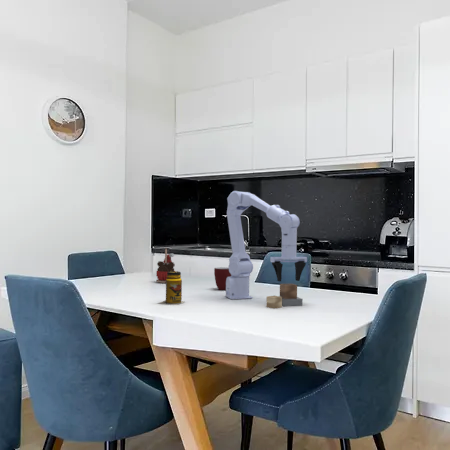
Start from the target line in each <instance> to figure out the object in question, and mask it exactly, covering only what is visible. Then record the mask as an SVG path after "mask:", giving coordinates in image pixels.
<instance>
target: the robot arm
mask: <svg viewBox="0 0 450 450" xmlns="http://www.w3.org/2000/svg"><path fill="white" fill-rule="evenodd" d="M226 200H227V208H226V209H227V210H226V218H227V224H228V225H227V226H228V231H229V238H230V239H229V240H230V245H231V252H232V254H231V256H230V257H229V259H228V260H229V261H228V268H229V272H230V274H231V277H227V279H226V290H225V297H226V298H228V299H230V300H244V299H245V300H246V299H253V298H254V297H253V296H251V295H250V276H251V274H252V272H253V269H254V264H253V262H252V261H251V257H250V255H249V254H248V253H247V251H246V247H245V246H246V245H245V239H244V232H243V226H242V218H241V215H242V214H243V213H244V212H245V211H246V210H248V209H249V207H251V206H253V207H254V208H256V209H258V210H260V211H262V212H264V213H265V214H266V217H267V218H268V219H270V220H271V221H273V222H275V223H276V224H278V225H279V227H280V229H281V231H280V232H281V254H280V255H281V256H270V258H269V259H270V263H271V265H272V267H273V269H274V273H275V275H276V279H277V281H276V282H282V279H283V278H282V271H283V266H284V264H283V263H294V269H295V276H294V277H295V281H297V282H300V279H301V276H302V273H303V270H304V268H305V267H306V264H307V262H308V257H307V256H297V251H298V250H297V248H298V247H297V244H298V242H297V241H298V239H297V238H298V237H297V236H298V231H297V230H298V227H300V224H301V223H300V221H301V220H300V218H299V216H297V215H296V214H294V213H292V214H290V211H288V210H285V209H283V208H281V205H279V204H273V205H270V204H269V203H267V202H266V201H264V200H263V199H261V198H260V197H259V196H257V195H256V194H254V193H251V192H250V191H238V190H233V191H232V192H230V194H229V195H228V197H227V198H226Z"/></svg>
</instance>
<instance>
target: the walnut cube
mask: <svg viewBox="0 0 450 450" xmlns="http://www.w3.org/2000/svg"><path fill="white" fill-rule="evenodd" d="M279 296H280V297H282V298H284V299H293V298H297V297H298V284H294V283H279Z"/></svg>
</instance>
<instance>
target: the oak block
mask: <svg viewBox="0 0 450 450" xmlns="http://www.w3.org/2000/svg"><path fill="white" fill-rule="evenodd" d="M279 296H280V295H269V296H266V308H270V309H273V310H275V309H281V308H283V306H282V297H279Z"/></svg>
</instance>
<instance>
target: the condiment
mask: <svg viewBox="0 0 450 450" xmlns="http://www.w3.org/2000/svg"><path fill="white" fill-rule="evenodd" d="M181 275H182V273H181V271H178V270H177V271H176V270H174V271H170V272H167V279H166V283H165V300H163V301H161V302H159V304H161V305H172V306H174V305H175V306H178V305H181V304H183V303H185V301H182V298H183V295H182V293H183V292H182V290H183V289H182V288H183V287H182V285H183V281H182V276H181Z"/></svg>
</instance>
